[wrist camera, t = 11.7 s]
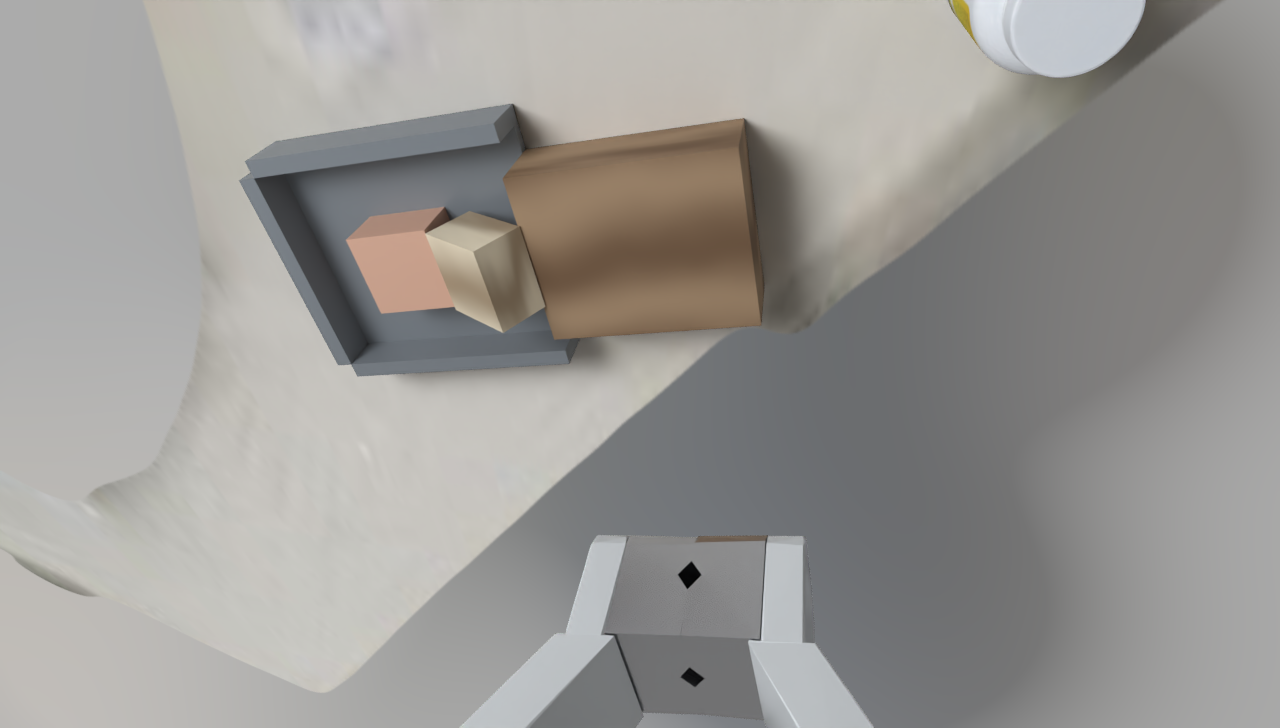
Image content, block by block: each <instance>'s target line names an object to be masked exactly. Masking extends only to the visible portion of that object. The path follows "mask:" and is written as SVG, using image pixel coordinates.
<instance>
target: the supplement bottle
mask: <svg viewBox="0 0 1280 728" xmlns="http://www.w3.org/2000/svg"><path fill="white" fill-rule="evenodd" d="M948 2H949V5H950V7H951V9H952V11H953V13H954V14H955V15H956V17H957V18H958V20H959V21H960V22H961V23H962V25H963V26H964V28H965V29H966V30H967V32H968V33H969V34H970V36H971V37H972V39H973V40H974V41H975V43H976V44H977V45H978V47H979V48H980V49H981V51H982V52H983V53H984V54H985V55H986V56H987V57H988V58H989V59H990V60H992V61H993V62H994V63H995V64H997V65H999V66H1000V67H1002V68H1004V69H1006V70H1009V71H1012V72H1015V73H1020V74H1028V75H1032V74H1039V75H1043V76H1047V77H1053V78H1065V77H1073V76H1077V75H1080V74H1084V73H1086V72H1089V71H1091V70H1093V69H1096V68H1098V67H1099V66H1101V65H1102V64H1104V63H1105V62H1107V61H1108V60H1110V59H1111V58H1112V57H1113V56H1115V55H1116V54H1117V53H1118V52H1119V51H1120V50H1121V49H1122V48H1123V47H1124V46H1125V45H1126V43H1127V42H1128V41H1129V40H1130V38H1131V37H1132V35H1133V34H1134V32H1135V31H1136V29H1137V27H1138V25H1139V23H1140V20H1141V18H1142V15H1143V12H1144V9H1145V3H1146V0H948Z"/></svg>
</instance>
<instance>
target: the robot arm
mask: <svg viewBox="0 0 1280 728" xmlns="http://www.w3.org/2000/svg"><path fill="white" fill-rule="evenodd" d="M642 712H644V713H672V714H698V715H711V716H722V717H733V718H744V719H755V720H764V722H765V725H766V727H767V728H875V727H874V726H873V725H872V723H871V722H870V720H869V719H868V717H867V716H866V714H865V713H864V711H863V710H862V709H861V707H860V706H859V704H858V703H857V701H856V700H855V699H854V697H853V696H852V694H851V692H850V691H849V690H848V688H847V687H846V685H845V684H844V682H843V681H842V679H841V678H840V676H839V675H838V674H837V672H836V671H835V669H834V668H833V666H832V665H831V663H830V662H829V661H828V659H827V658H826V656H825V655H824V653H823V652H822V650H821V649H820V647H819V646H818V644H817V643H815V635H814V615H813V600H812V586H811V577H810V568H809V558H808V548H807V540H806V537H805V536H768V535H767V536H699V537H698V538H696V537H662V536H614V535H613V536H612V535H610V536H609V535H598V536H597V537H596V538H595V540H594V541H593V543H592V545H591V547H590V550H589V554H588V557H587V561H586V564H585V568H584V571H583V574H582V578H581V581H580V585H579V588H578V592H577V595H576V598H575V602H574V606H573V609H572V612H571V616H570V619H569V623H568V626H567V630H566V633H555V635H553V636H552V638H550V639H549V640H548V641H547V642H546V643H545V644H544V645H543V646H542V647H541V648H540V649H539V650H538V651H537V652H536V653H535V654H534V655H533V656H532V657H531V658H530V659H529V660H528V661H527V662H526V663H525V664H524V665H523V666H522V667H521V668H520V669H519V670H518V671H517V672H516V673H514V675H512V676H511V677H510V678H509V679H508V680H507V681H506V682H505V683H504V684H503V685H502V686H501V687H500V688H499V689H498V690H497V691H496V692H495V693H494V694H493V695H492V696H491V697H490V698H489V699H488V700H487V701H486V702H485V703H484V704H483V705H482V706H481V707H480V708H479V709H478V710H477V711H476V712H475V713H474V714H473V715H472V716H470V718H469V719H468V720H466V721H465V722H464V723H463V724H462V725H461V726H460V727H459V728H636V726H637V725H638V723H639V722H640V721H641V719H642V718H643V713H642Z"/></svg>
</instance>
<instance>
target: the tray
mask: <svg viewBox="0 0 1280 728" xmlns="http://www.w3.org/2000/svg"><path fill="white" fill-rule="evenodd" d="M524 151H525V146H524V142H523V139H522V135H521V132H520V129H519V125H518V122H517V119H516V115H515V112H514V108H513V105H512V104H508V105H502V106H496V107H489V108H483V109H477V110H470V111H464V112H458V113H452V114H445V115H439V116H433V117H426V118H420V119H414V120H408V121H401V122H395V123H389V124H382V125H376V126H370V127H364V128H357V129H351V130H345V131H339V132H332V133H326V134H320V135H313V136H307V137H301V138H295V139H288V140H282V141H276V142H274V143H272V144H271V145H269V146H268V147H266V148H265V149H263V150H262V151H260V152H259V153H257V154H255V155H254V156H252V157H251V158H249V159H248V160H246V161H245V162H246V164H247V166H248V168H249V170H250V172H251V173H250V174H248V175H247V176H245V177H244V178H242V179H241V180H239V181H240V183H241V185H242V187H243V189H244V191H245V192H246V194H247V196H248V198H249V200H250V202H251V204H252V206H253V207H254V209H255V211H256V213H257V215H258V217H259V219H260V220H261V222H262V224H263V226H264V228H265V230H266V232H267V233H268V235H269V237H270V239H271V241H272V243H273V245H274V246H275V248H276V250H277V252H278V254H279V256H280V258H281V260H282V261H283V263H284V265H285V267H286V269H287V271H288V273H289V274H290V276H291V278H292V280H293V282H294V284H295V286H296V287H297V289H298V291H299V293H300V295H301V297H302V299H303V301H304V302H305V304H306V306H307V308H308V310H309V312H310V314H311V315H312V317H313V319H314V321H315V323H316V325H317V327H318V328H319V330H320V332H321V334H322V336H323V338H324V340H325V342H326V343H327V345H328V347H329V349H330V351H331V353H332V355H333V356H334V358H335V360H336V362H337V364H338V365H349V364H351V365H352V367H353V369H354V370H355V372H356V374H357V376H372V375H389V374H405V373H422V372H439V371H456V370H472V369H489V368H506V367H523V366H539V365H556V364H569V363H570V361H571V359H572V356H573V354H574V351H575V349H576V347H577V344H578V342H579V339H580V338H572V339H557V340H554V337H553V334H552V331H551V328H550V325H549V322H548V319H547V316H546V312H545V309H544V308H542V309H541V310H539V311H538V312H536V313H534V314H533V315H531V316H530V317H528V318H526V319H525V320H523V321H522V322H520V323H518V324H517V325H515V326H514V327H512V328H510V329H509V330H507V331H506V332H504V333H502V332H500V331H498V330H496V329H494V328H492V327H490V326H488V325H486V324H484V323H482V322H480V321H477V320H475V319H473V318H471V317H469V316H467V315H465V314H463V313H461V312H459V311H457V310H456V309H455V307H449V308H438V309H427V310H416V311H405V312H394V313H383V314H381V312H380V310H379V308H378V306H377V304H376V302H375V300H374V298H373V295H372V293H371V291H370V289H369V287H368V285H367V283H366V281H365V279H364V277H363V275H362V273H361V270H360V268H359V266H358V264H357V262H356V260H355V258H354V256H353V254H352V252H351V250H350V247H349V245H348V243H347V241H346V239H347V238H348V237H349V236H350V235H352V234H353V233H354V232H355V231H356V230H357V229H358V228H359V227H360V226H361V225H362V224H363V223H364V222H365V221H366V220H367V219H368V218H369V217H370V216H378V215H386V214H393V213H401V212H409V211H416V210H424V209H432V208H439V207H445V209H446V212H447V214H448V217H449V219H450V221H451V220H453V219H455V218H457V217H459V216H461V215H463V214H465V213H467V212H468V211H471V212H474V213H478V214H481V215H484V216H487V217H491V218H494V219H497V220H500V221H504V222H507V223H510V224H513V225H517V222H516V219H515V216H514V213H513V210H512V207H511V204H510V201H509V198H508V195H507V191H506V188H505V185H504V182H503V179H502V178H503V177H504V176H505V175H506V173H507V172H508V171H509V170H510V168H511V167H512V166H513V165H514V163H515V162H516V161H517V159H518V158H519V157H520V156H521V154H522V153H523V152H524Z"/></svg>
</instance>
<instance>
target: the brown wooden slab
mask: <svg viewBox="0 0 1280 728" xmlns="http://www.w3.org/2000/svg"><path fill="white" fill-rule="evenodd" d="M502 179H503V182H504V185H505V188H506V191H507V195H508V198H509V201H510V204H511V207H512V210H513V213H514V216H515V219H516V222H517V226H519V227H520V230H521V233H522V236H523V239H524V242H525V245H526V248H527V251H528V254H529V258H530V261H531V264H532V267H533V270H534V273H535V276H536V279H537V282H538V285H539V288H540V291H541V295H542V298H543V301H544V304H545V307H544V309H545V312H546V316H547V319H548V322H549V325H550V328H551V331H552V334H553V337H554V340H557V339H572V338H586V337H601V336H615V335H630V334H644V333H659V332H673V331H688V330H702V329H717V328H731V327H746V326H760V325H761V322H762V310H763V298H764V280H763V272H762V263H761V255H760V247H759V238H758V230H757V222H756V213H755V205H754V197H753V189H752V180H751V172H750V164H749V155H748V147H747V139H746V130H745V122H744V118H743V119H736V120H729V121H722V122H715V123H708V124H701V125H694V126H687V127H680V128H672V129H665V130H658V131H651V132H644V133H637V134H630V135H623V136H616V137H609V138H602V139H595V140H588V141H580V142H573V143H566V144H559V145H552V146H545V147H538V148H531V149H525V151H524V152H523V153H522V154H521V156H520V157H519V158H518V159H517V161H516V162H515V163H514V165H513V166H512V167H511V168H510V170H509V171H508V172H507V173H506V175H505V176H504V177H503V178H502Z"/></svg>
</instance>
